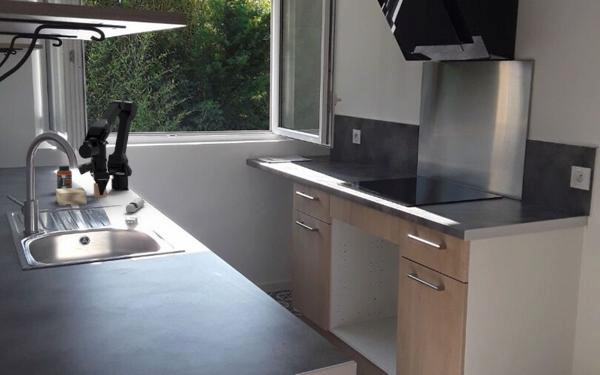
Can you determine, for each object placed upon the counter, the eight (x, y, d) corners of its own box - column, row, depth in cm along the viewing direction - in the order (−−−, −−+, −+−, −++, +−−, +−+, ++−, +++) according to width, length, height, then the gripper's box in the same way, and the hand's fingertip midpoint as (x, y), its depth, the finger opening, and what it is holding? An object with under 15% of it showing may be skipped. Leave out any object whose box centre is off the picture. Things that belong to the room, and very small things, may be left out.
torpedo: (135, 214, 233) (135, 197, 232) (123, 214, 233) (122, 196, 232) (148, 205, 251) (148, 188, 250) (136, 204, 251) (136, 188, 250)
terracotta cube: (105, 194, 268) (104, 183, 267) (106, 196, 264) (106, 184, 263) (93, 195, 266) (93, 183, 266) (94, 197, 262) (94, 185, 261)
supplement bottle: (67, 193, 268) (66, 166, 266) (54, 192, 270) (53, 165, 268) (75, 190, 274) (74, 164, 272) (62, 190, 275) (61, 164, 273)
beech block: (82, 199, 257) (82, 187, 256) (86, 204, 248) (86, 191, 248) (56, 201, 253) (55, 188, 252) (59, 206, 244) (58, 193, 243)
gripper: (76, 153, 268) (77, 190, 270) (80, 159, 251) (81, 198, 253) (104, 153, 272) (105, 189, 275) (109, 158, 255) (110, 197, 258)
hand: (100, 193), depth 265 cm, fingers open, 9 cm apart
